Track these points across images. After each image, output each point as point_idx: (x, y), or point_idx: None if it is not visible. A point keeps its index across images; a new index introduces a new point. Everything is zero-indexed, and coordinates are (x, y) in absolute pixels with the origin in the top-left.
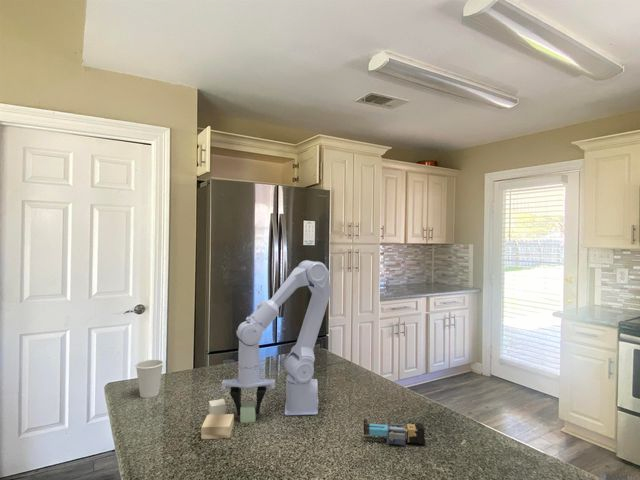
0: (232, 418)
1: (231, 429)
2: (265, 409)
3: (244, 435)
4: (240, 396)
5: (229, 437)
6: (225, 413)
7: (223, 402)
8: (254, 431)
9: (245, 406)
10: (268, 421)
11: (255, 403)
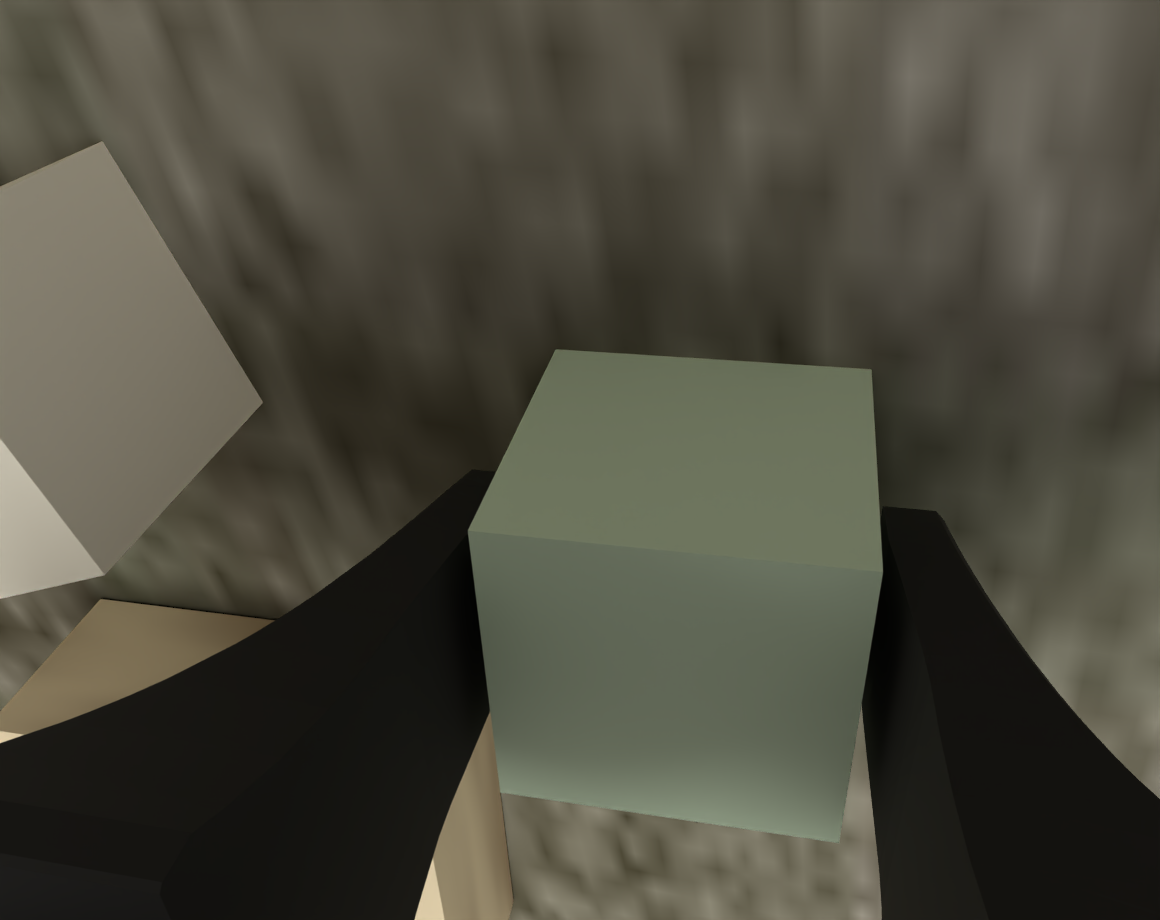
0: (442, 897)
1: (490, 838)
2: (1154, 47)
3: (692, 888)
4: (370, 752)
5: (510, 910)
6: (212, 449)
7: (4, 484)
8: (830, 843)
9: (598, 746)
10: (1113, 634)
11: (848, 655)
